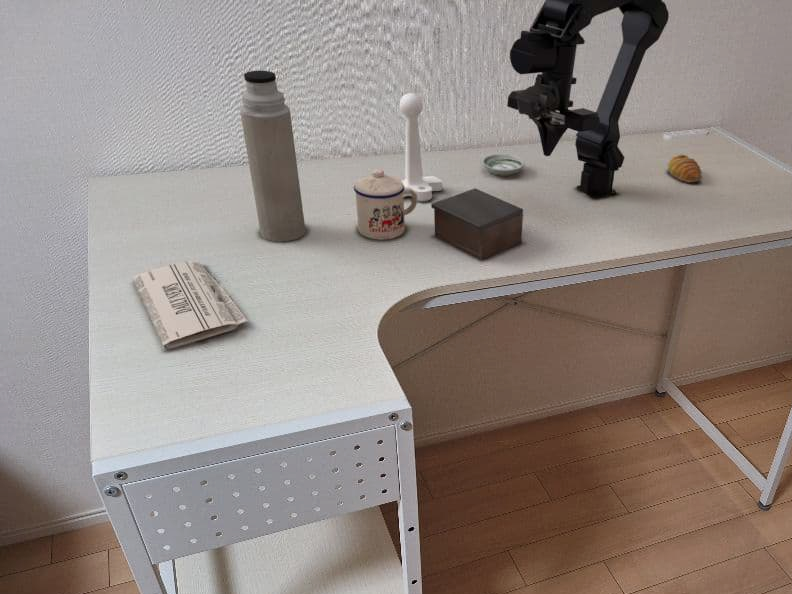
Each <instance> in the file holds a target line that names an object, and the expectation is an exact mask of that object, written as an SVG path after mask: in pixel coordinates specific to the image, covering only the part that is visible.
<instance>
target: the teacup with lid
mask: <svg viewBox="0 0 792 594" xmlns="http://www.w3.org/2000/svg"><path fill="white" fill-rule="evenodd" d="M353 191H354V192H355V202H356V215H357V216H356V217H357V227H358V232H359V233H360V235H362V236H363V237H365V238H368V239H371V240H380V241H383V240H392V239H395V238H397V237H400V236H401V235H402V234H404V232H405V231H406V230H405V229H406V226H405V225H406V223H405V216H407V215H409V214H411V213H413V211H414V210H415V209H416V207H417V204H418V201H417V194H416V192H415V191H414V190H412V189H410V188H404V185H403V183H402V181H401V179H399V178H398V177H395V176H393V175H388V174H386V173H385V171H384V170H383V169H381V168H375V169H373V170H372V173H371V174H369V175H365V176H362V177H360V178H358V179H357V180H355V182H354V185H353ZM405 193H412V196H411V198H412V199H411V203H410V204H409V206H408V207H407V208H405V201H404V200H405V199H404V198H405V197H403V194H405Z"/></svg>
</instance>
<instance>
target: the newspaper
mask: <svg viewBox="0 0 792 594" xmlns="http://www.w3.org/2000/svg"><path fill="white" fill-rule="evenodd" d="M132 281H133V283H134V285H135V288H136V290H137V292H138V294H139V296H140V298H141V301H142V303H143V305H144V308H145V309H146V311H147V313H148V316H149V318H150V320H151V323H152V324H153V327H154V329H155V331H156V334H157V336H158V338H159V340H160V342H161V345H162V347H163V349H165V350H171V349H174V348H178V347H182V346H185V345H189V344H191V343H194V342H198V341H201V340H205V339H207V338H210V337H211V338H212V337H215V336H217V335H221V334H223V333H226V332H230V331H235V329H237V328H238V325H241V324H242V323H243V324H244V323H245V322H248V319H247V318H246V316H245V315H244V314H243V312H242V311H241V310H240V309H239V307H237V305H236V304H235V302H234V301H233V300H232V299H231V298H230V296H229V295H228V294H227V292H226V291H225V290H224V289H223V288H222V287H221V285H220V284H219V283H218V282H217V281H216V280H215V278H213V276H212V275H211V274H210V273H209V271H207V270H206V269H205V267H204V266H202V263H201V262H200V261H197V260H193V259H189V260H185V261H181V262H176V263H172V264H168V265H164V266H161V267H158V268H154V269H150V270H147V271H145V272H141V273H138V274H136V275H134V276H133V277H132Z"/></svg>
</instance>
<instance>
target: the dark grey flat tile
mask: <svg viewBox="0 0 792 594" xmlns="http://www.w3.org/2000/svg"><path fill="white" fill-rule="evenodd" d="M430 207H431V209H433V210H434V209H435V210H437V211H440V212H442V213H444V214H446V215H448V216H450V217H452V218H454V219H456V220H458V221H461V222H463V223H465V224H467V225H469V226H471V227H473V228H475V229H477V230H482V229H485V228H487V227H490V226H492V225H495V224H497V223H500V222H502V221H504V220H507V219H509V218H512V217H514V216H517V215H519V214H522V213H523V214H524V208H521V207H519V206H517V205H515V204H513V203H510V202H508V201H505V200H503V199H501V198H499V197H496V196H494V195H492V194H489V193H488V192H485V191H483V190H480V189H478V188H476V187H475V188H472V189H469V190H466V191H464V192H463V191H462V192H461V193H458V194H455V195H452V196H450V197H446V198H444V199H441V200H438V201H435V202H432V203H431V204H430Z"/></svg>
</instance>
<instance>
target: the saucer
mask: <svg viewBox="0 0 792 594" xmlns="http://www.w3.org/2000/svg"><path fill="white" fill-rule="evenodd" d="M481 165H482V166H483V167H484V168H485V169H486V170H487V171H488V172H490V173H492V174H494V175H495V176H499V177H509V176H510V177H511V176H512V175H514V174H516V173H518V172H520V171H521V170H522V169H524V167H525V165H526V163H525V160H524V159H523V158H521V157H519V156H517V155H513V154H507V153H493V154H489V155H486V156H483V158H482V159H481Z"/></svg>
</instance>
